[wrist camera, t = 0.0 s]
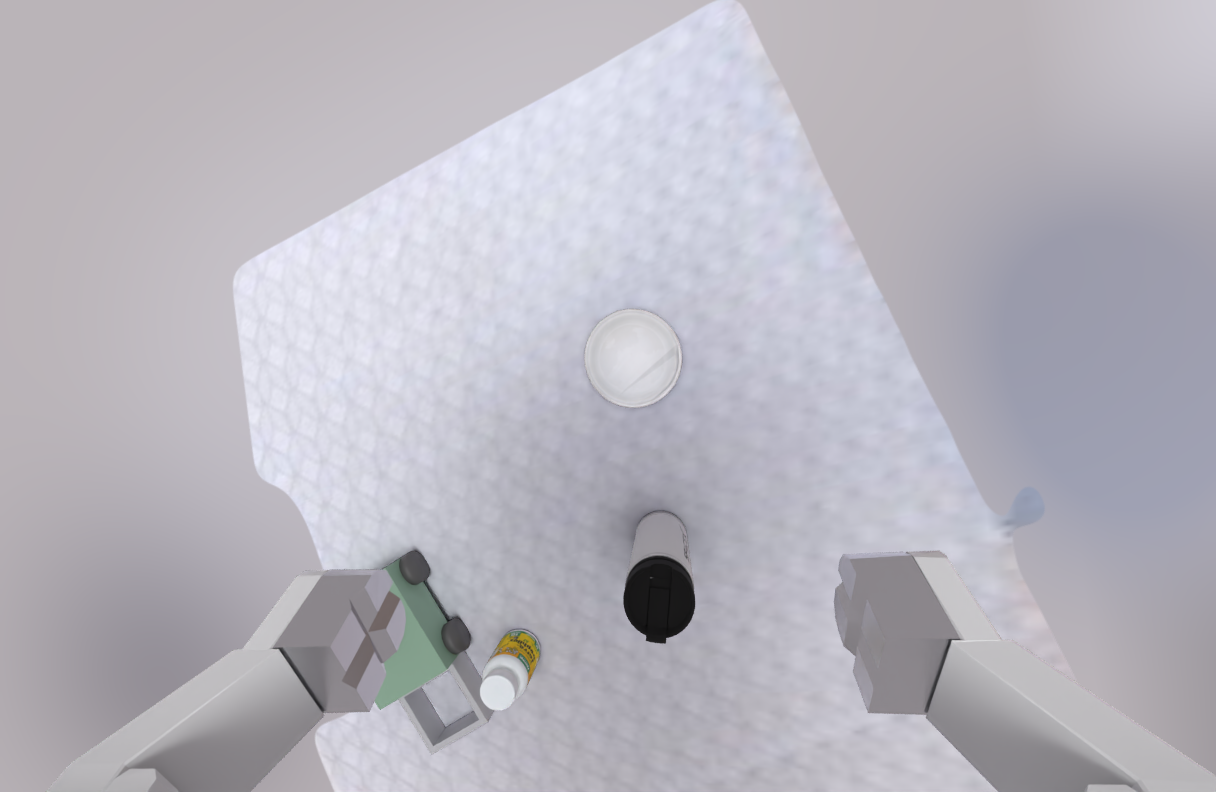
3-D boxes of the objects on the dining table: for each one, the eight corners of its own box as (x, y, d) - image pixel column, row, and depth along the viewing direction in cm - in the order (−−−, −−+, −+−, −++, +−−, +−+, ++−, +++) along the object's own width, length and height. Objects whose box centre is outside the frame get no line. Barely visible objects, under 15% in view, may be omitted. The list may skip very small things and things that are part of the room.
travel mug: (633, 560, 64) (618, 639, 44) (637, 507, 64) (625, 563, 44) (684, 566, 63) (692, 649, 44) (688, 512, 63) (699, 572, 43)
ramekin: (664, 417, 63) (664, 420, 58) (578, 389, 64) (571, 390, 59) (693, 330, 63) (695, 325, 57) (606, 303, 64) (600, 296, 59)
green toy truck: (509, 697, 66) (481, 752, 56) (432, 742, 68) (391, 804, 58) (417, 546, 67) (374, 575, 57) (342, 594, 69) (288, 629, 59)
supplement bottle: (492, 652, 66) (463, 697, 57) (514, 619, 66) (489, 659, 56) (527, 677, 66) (503, 727, 56) (549, 643, 66) (529, 688, 56)
